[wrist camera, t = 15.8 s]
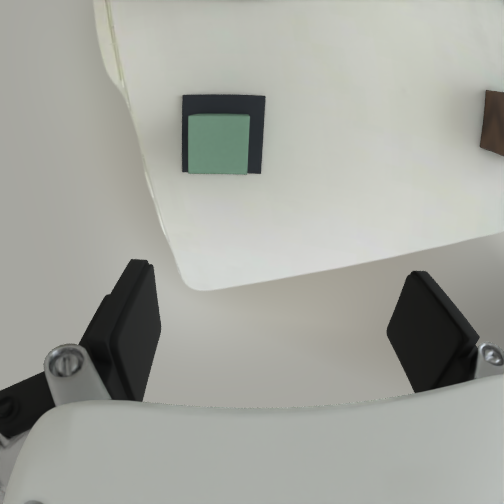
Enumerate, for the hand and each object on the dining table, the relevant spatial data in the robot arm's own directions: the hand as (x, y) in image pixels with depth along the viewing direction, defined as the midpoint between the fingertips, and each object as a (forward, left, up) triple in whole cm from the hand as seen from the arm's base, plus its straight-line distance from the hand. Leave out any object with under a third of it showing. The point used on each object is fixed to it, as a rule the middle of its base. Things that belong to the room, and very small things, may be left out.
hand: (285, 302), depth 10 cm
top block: (-3, -4, -22) cm, 22 cm away
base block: (-10, +32, -22) cm, 41 cm away
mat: (-3, -4, -22) cm, 23 cm away
